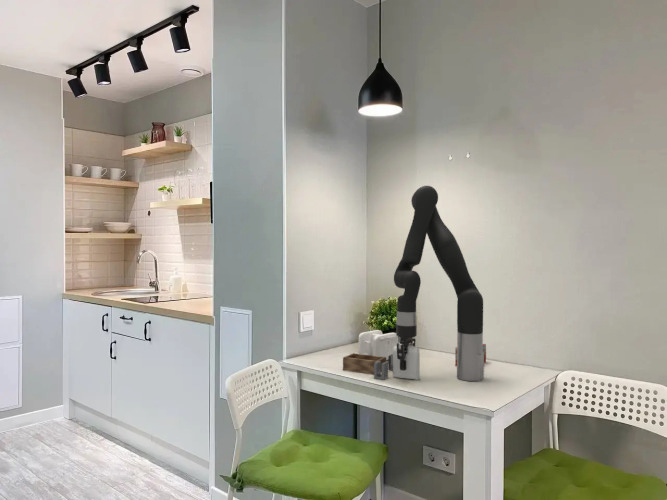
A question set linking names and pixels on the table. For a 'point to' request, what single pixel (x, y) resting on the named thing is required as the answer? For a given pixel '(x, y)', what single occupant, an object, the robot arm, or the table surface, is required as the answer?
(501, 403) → the table surface
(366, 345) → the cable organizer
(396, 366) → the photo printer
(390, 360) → the cable clip
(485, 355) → the medicine box
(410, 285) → the robot arm
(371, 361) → the wooden box
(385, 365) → the cable clip
